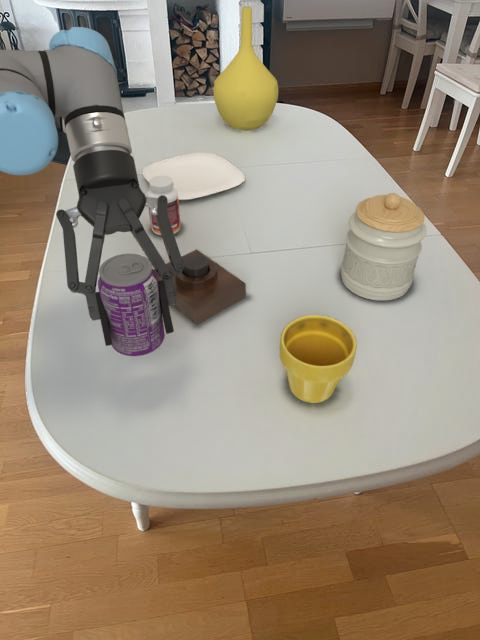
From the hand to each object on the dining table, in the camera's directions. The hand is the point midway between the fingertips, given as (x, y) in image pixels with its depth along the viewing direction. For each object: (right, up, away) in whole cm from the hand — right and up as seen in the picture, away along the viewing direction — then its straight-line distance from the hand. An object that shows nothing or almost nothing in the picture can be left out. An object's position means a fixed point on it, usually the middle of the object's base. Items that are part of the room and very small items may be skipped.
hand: (139, 338), depth 64 cm
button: (+5, +11, +26) cm, 29 cm away
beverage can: (-1, -1, +5) cm, 5 cm away
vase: (+14, +60, +88) cm, 108 cm away
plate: (+1, +36, +62) cm, 72 cm away
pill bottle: (-3, +21, +45) cm, 50 cm away
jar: (+37, +10, +32) cm, 50 cm away
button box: (+5, +7, +29) cm, 31 cm away
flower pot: (+23, -8, +13) cm, 27 cm away
